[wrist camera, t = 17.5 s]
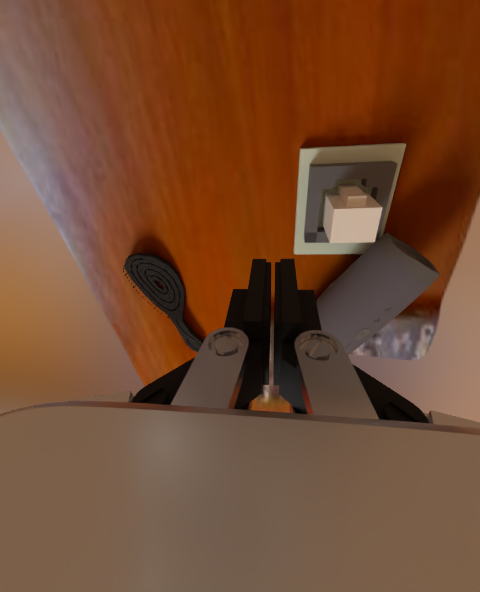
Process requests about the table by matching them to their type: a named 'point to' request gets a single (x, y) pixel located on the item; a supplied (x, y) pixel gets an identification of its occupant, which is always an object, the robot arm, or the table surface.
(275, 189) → the table surface
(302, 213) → the socket board
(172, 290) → the hairbrush
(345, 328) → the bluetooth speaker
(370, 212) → the keyed plug
